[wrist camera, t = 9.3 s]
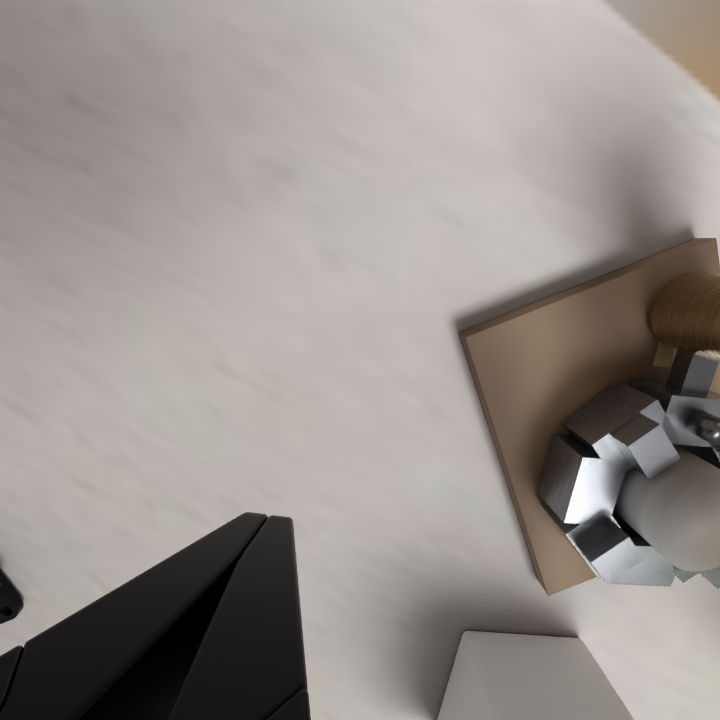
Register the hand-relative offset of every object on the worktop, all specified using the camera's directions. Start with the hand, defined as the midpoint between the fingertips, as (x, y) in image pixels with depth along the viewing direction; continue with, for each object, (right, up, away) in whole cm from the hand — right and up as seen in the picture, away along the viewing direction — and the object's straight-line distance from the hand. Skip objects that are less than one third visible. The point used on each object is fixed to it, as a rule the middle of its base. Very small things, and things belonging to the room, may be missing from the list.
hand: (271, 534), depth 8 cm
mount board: (+13, 0, +13) cm, 19 cm away
